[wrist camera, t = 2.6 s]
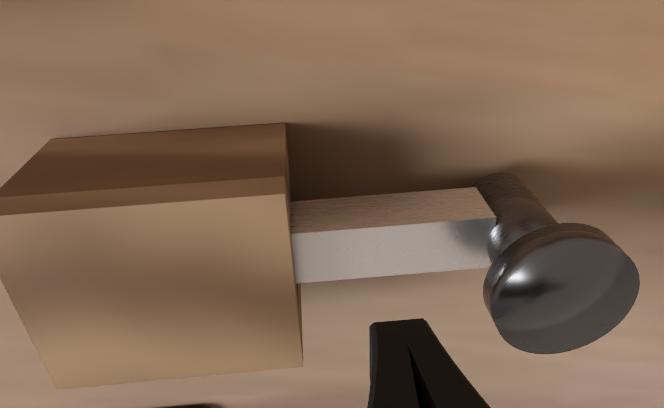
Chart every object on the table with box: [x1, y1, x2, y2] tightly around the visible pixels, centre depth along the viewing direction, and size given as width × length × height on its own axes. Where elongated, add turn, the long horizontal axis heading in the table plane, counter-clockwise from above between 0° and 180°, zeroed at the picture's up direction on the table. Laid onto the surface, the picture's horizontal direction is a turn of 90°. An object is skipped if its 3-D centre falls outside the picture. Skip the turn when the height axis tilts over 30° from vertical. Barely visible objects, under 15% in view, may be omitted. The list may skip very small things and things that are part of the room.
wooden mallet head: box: [0, 123, 303, 390], centre depth 17 cm, size 7×8×5 cm
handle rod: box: [290, 173, 640, 354], centre depth 16 cm, size 4×18×6 cm, turn 93°
